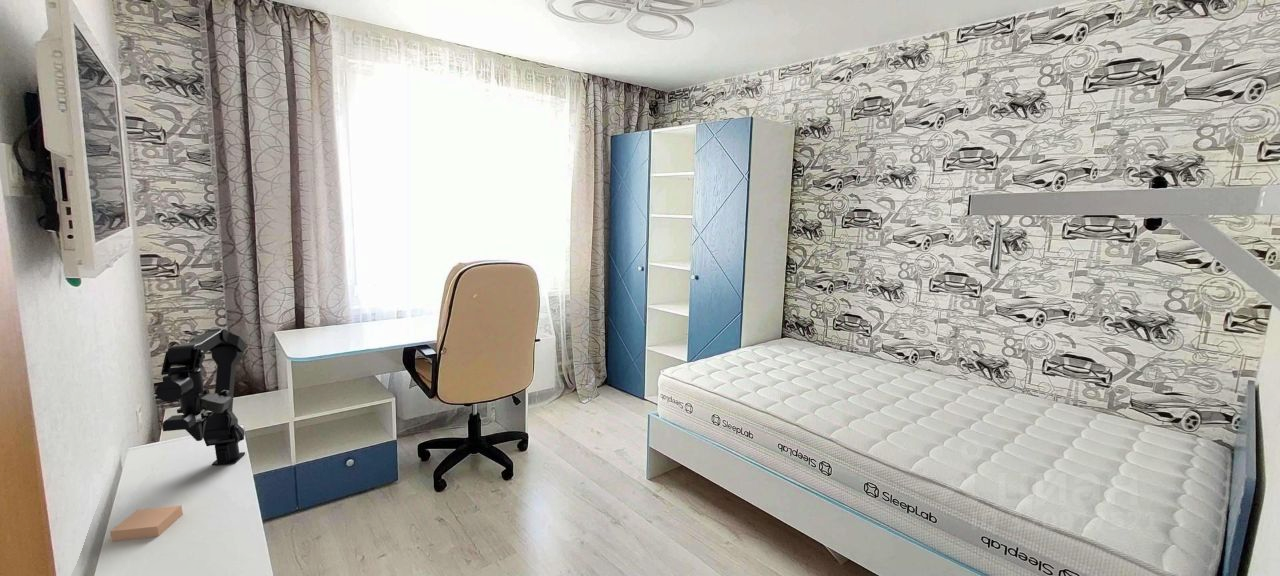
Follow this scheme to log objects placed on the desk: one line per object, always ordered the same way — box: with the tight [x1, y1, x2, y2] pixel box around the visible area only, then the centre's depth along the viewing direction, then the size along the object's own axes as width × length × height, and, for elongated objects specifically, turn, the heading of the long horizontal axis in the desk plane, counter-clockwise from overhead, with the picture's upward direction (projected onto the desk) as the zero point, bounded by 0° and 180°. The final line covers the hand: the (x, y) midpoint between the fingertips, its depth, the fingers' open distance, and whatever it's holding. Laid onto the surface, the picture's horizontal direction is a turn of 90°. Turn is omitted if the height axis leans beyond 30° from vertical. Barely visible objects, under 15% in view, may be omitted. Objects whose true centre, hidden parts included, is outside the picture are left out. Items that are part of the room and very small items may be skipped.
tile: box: [109, 504, 184, 542], centre depth 134 cm, size 3×10×9 cm
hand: (199, 440), depth 153 cm, fingers closed
